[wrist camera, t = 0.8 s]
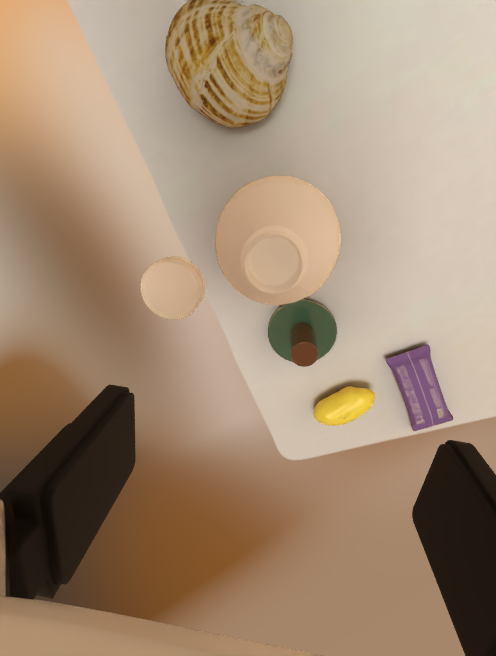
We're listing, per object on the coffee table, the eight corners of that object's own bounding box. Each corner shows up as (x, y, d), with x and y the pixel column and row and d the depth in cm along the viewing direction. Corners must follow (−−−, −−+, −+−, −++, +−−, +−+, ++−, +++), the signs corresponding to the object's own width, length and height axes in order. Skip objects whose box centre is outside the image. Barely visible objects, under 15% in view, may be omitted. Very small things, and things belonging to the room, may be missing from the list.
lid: (255, 330, 41) (249, 355, 35) (301, 283, 38) (304, 302, 32) (301, 369, 42) (304, 400, 36) (349, 328, 39) (361, 354, 33)
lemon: (306, 395, 43) (308, 414, 40) (365, 374, 41) (373, 391, 38) (319, 419, 45) (322, 439, 41) (377, 399, 43) (385, 419, 39)
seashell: (148, 23, 29) (159, -76, 20) (248, 18, 32) (297, -71, 23) (179, 148, 33) (201, 111, 23) (267, 135, 35) (318, 97, 26)
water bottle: (305, 173, 33) (347, 143, 11) (317, 237, 36) (374, 326, 13) (224, 197, 35) (108, 217, 12) (240, 257, 37) (169, 367, 15)
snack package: (410, 426, 44) (450, 415, 42) (415, 436, 42) (457, 425, 41) (383, 355, 40) (425, 340, 39) (387, 363, 38) (432, 347, 37)
